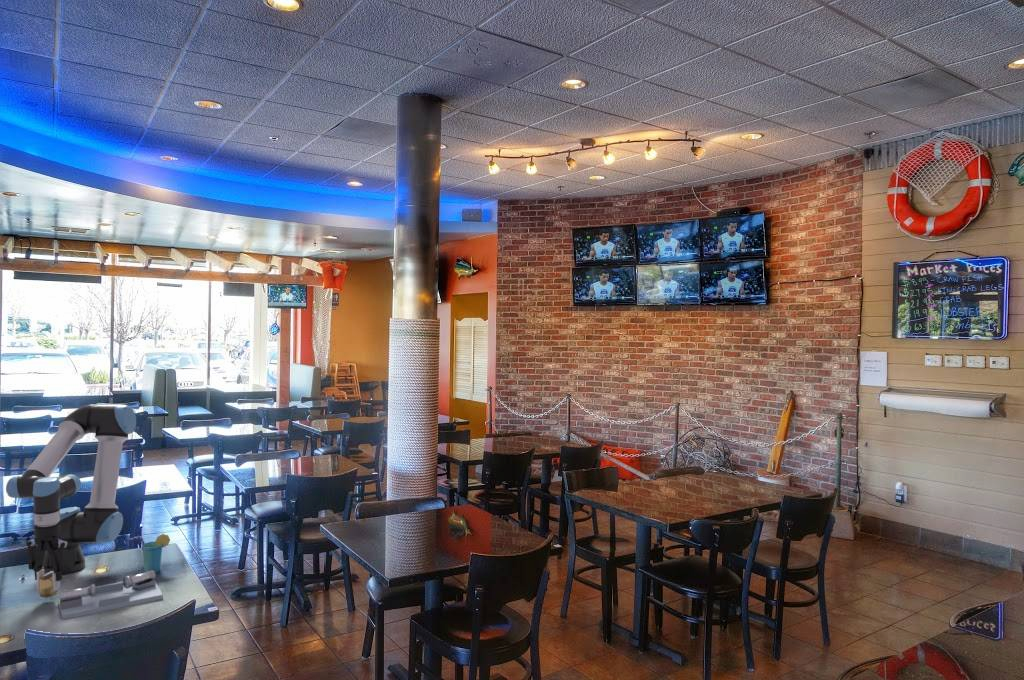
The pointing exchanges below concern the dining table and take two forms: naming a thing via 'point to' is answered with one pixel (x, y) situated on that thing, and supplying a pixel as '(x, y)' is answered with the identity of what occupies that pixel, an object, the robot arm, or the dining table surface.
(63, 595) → the shaft
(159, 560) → the cup
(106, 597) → the bench
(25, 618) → the dining table surface
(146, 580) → the shaft
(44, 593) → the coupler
